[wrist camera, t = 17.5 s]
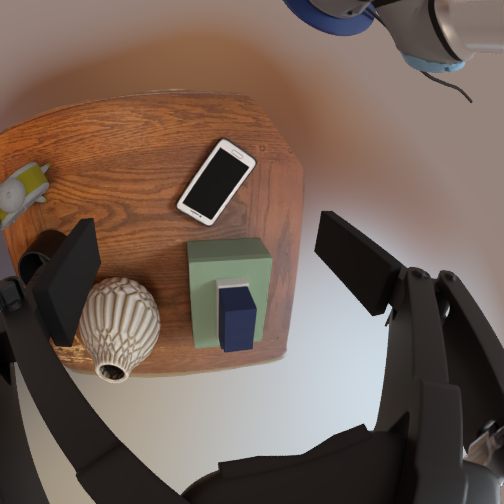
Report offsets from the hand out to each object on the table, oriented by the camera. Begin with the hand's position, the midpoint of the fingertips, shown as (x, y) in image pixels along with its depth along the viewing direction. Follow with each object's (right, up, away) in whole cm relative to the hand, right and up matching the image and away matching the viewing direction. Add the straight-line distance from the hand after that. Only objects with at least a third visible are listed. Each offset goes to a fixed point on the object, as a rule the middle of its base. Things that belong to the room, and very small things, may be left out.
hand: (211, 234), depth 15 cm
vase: (-24, -10, +37) cm, 45 cm away
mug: (-35, -1, +29) cm, 45 cm away
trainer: (-2, -11, +34) cm, 36 cm away
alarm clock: (-36, +11, +22) cm, 44 cm away
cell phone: (-4, +11, +31) cm, 33 cm away
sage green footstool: (-4, -7, +41) cm, 42 cm away
